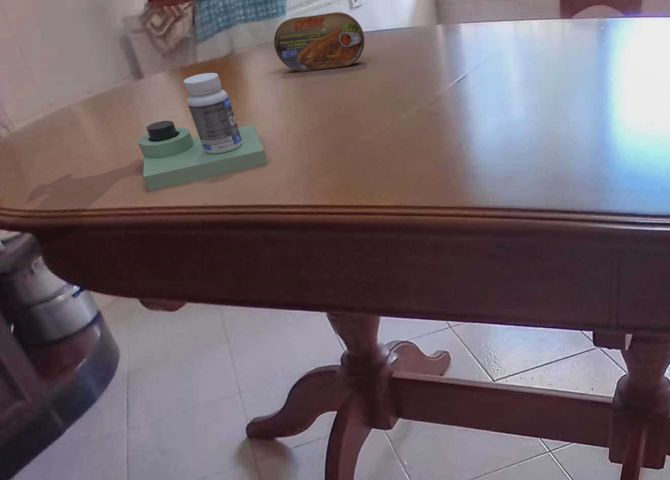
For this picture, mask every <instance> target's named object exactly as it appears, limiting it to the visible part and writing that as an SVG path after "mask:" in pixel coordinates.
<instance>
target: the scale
mask: <svg viewBox="0 0 670 480" xmlns="http://www.w3.org/2000/svg"><path fill="white" fill-rule="evenodd" d="M175 129H176V131H177V134H178V136H176V137H174V138H171V139H169V140H164V141H160V142H152V141H151V139H150V136H149V134H148V133H147V134H145V135H143V136H141V137H139V139H138V143H137V144H138V146H139V150H140V151H141V154H142V156H143V170H142V178H143V180H144V183H145V185H146V188H147V191H148V192H152V191H156V190H161V189H164V188H169V187H174V186H178V185H182V184H183V185H184V184H187V183H192V182H197V181H200V180H206V179H209V178H215V177H218V176H223V175H227V174H231V173H236V172H240V171H245V170H249V169H254V168H257V167H258V168H259V167H263V166H266V165H269V162H268V158H267V155H266V152H265V149H264V146H263V143H262V141H261V138H260V135H259V133H258V131H257V127H256V125H255V124H249V125H244V126H240V127H238V129H239V132H240V135H241V139H242V144H241V146H239V147H238V148H236V149H234V150H231V151H228V152H224V153H218V154H210V153H207V152H205V151H204V149H203V146H202V143H201V141H200V138H199V135H198V136H192V134H191V130H190V129H189V128H186V127H183V126H179V127H176V126H175Z"/></svg>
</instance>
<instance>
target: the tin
mask: <svg viewBox="0 0 670 480" xmlns="http://www.w3.org/2000/svg"><path fill="white" fill-rule="evenodd" d="M273 37H274V38H273V45H274V46H273V47H274V50H275V53H276V55H277V57H278V58H279V60H280V61H281V62H282V63H283V64H284V65H285V66H286V67H287V68H289V69H291V70H293V71H296V72H300V73H304V72H305V73H306V72H312V71H313V72H314V71H320V70H327V69H336V68H344V67H349V66H351V65H353V64H355V63H356V62H357V61H358V60H359V59H360V57H361V56H362V54H363V51H364V47H365V34H364V31H363V27H362V26H361V24H360V23H359V22H358V21H357V20H356V18H354V17H353V16H352V15H350V14H348V13H345V12H341V11H338V12H337V11H336V12H329V13H321V14H315V15H306V16H305V15H304V16H298V17H292V18H289V19H286V20H284V21H283V22H282V23H280V24H279V26H278V27H277V28H276V31H275V34H274V36H273Z"/></svg>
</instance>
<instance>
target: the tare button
mask: <svg viewBox="0 0 670 480" xmlns="http://www.w3.org/2000/svg"><path fill="white" fill-rule="evenodd" d="M175 127H176V125H175V123H174V121H173V120H162V121H156V122H153V123H151V124H149V125H147V127H146V131H147V134H149V136H150V139H151V141H152V142H160V141H164V140H169V139H171V138H174V137H176V136H178V134H177V131H176V129H175Z"/></svg>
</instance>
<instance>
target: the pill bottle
mask: <svg viewBox="0 0 670 480" xmlns="http://www.w3.org/2000/svg"><path fill="white" fill-rule="evenodd" d="M183 85H184V88H185V91H186V94H188V95H189V96H188V97H187V99H186V104H187V106H188V109H189V112H190V115H191V117H192V120H193V123H194V126H195V130H196V132H197V134H198V136H199V138H200V141H201V143H202V146H203V149H204V151H205V152H207V153H210V154H218V153H224V152H228V151H231V150H234V149H236V148H238V147H239V146H241V144H242V139H241V135H240V132H239V129H238V128H239V127H238V126H239V125H238V122H237V119H236V117H235V113H234V110H233V107H232V103H231V101H230V97H229V95H228V92H227V91H225V90H224V89H222V82H221V79H220V76H219V73H216V72H205V73H199V74H195V75H192V76H189V77H187V78H185V79H184V80H183Z"/></svg>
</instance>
